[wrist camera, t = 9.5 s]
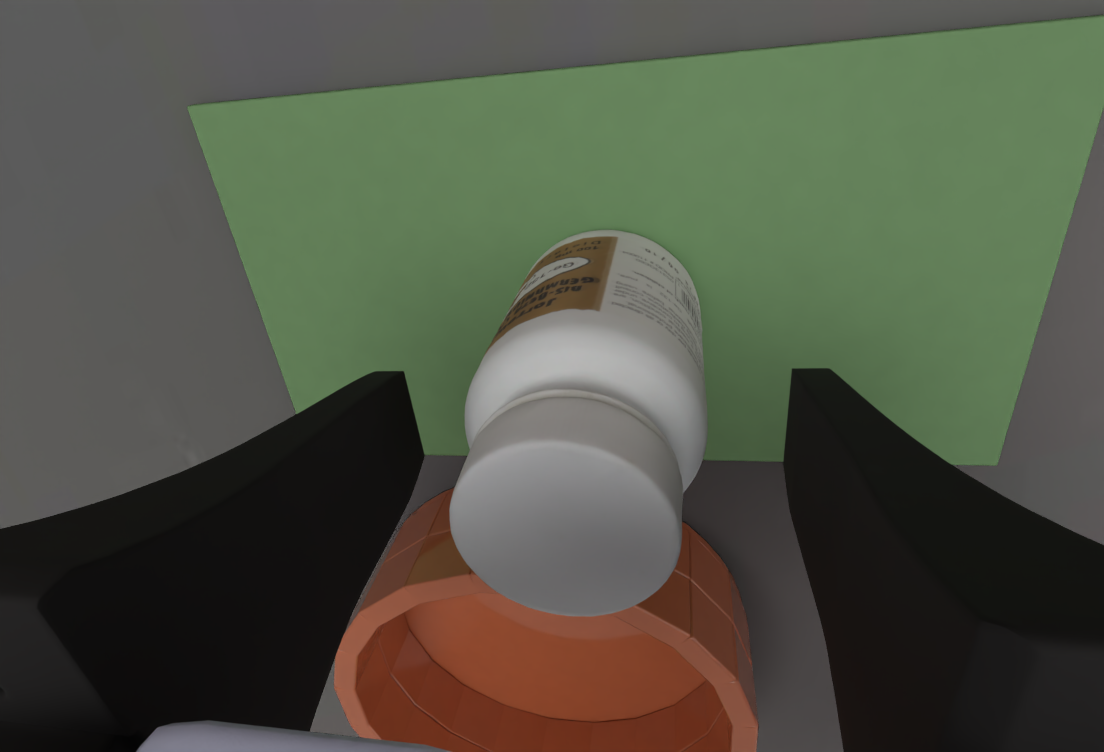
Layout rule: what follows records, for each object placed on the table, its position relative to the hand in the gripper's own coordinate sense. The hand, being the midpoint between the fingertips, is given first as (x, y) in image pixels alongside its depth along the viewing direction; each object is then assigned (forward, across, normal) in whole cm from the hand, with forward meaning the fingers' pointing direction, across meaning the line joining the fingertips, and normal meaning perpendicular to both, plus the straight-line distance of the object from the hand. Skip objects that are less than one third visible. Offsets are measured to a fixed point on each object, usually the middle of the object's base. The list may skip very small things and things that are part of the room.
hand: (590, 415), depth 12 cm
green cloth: (+5, 0, -1) cm, 5 cm away
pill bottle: (+5, 0, 0) cm, 5 cm away
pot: (+5, +2, +11) cm, 13 cm away
